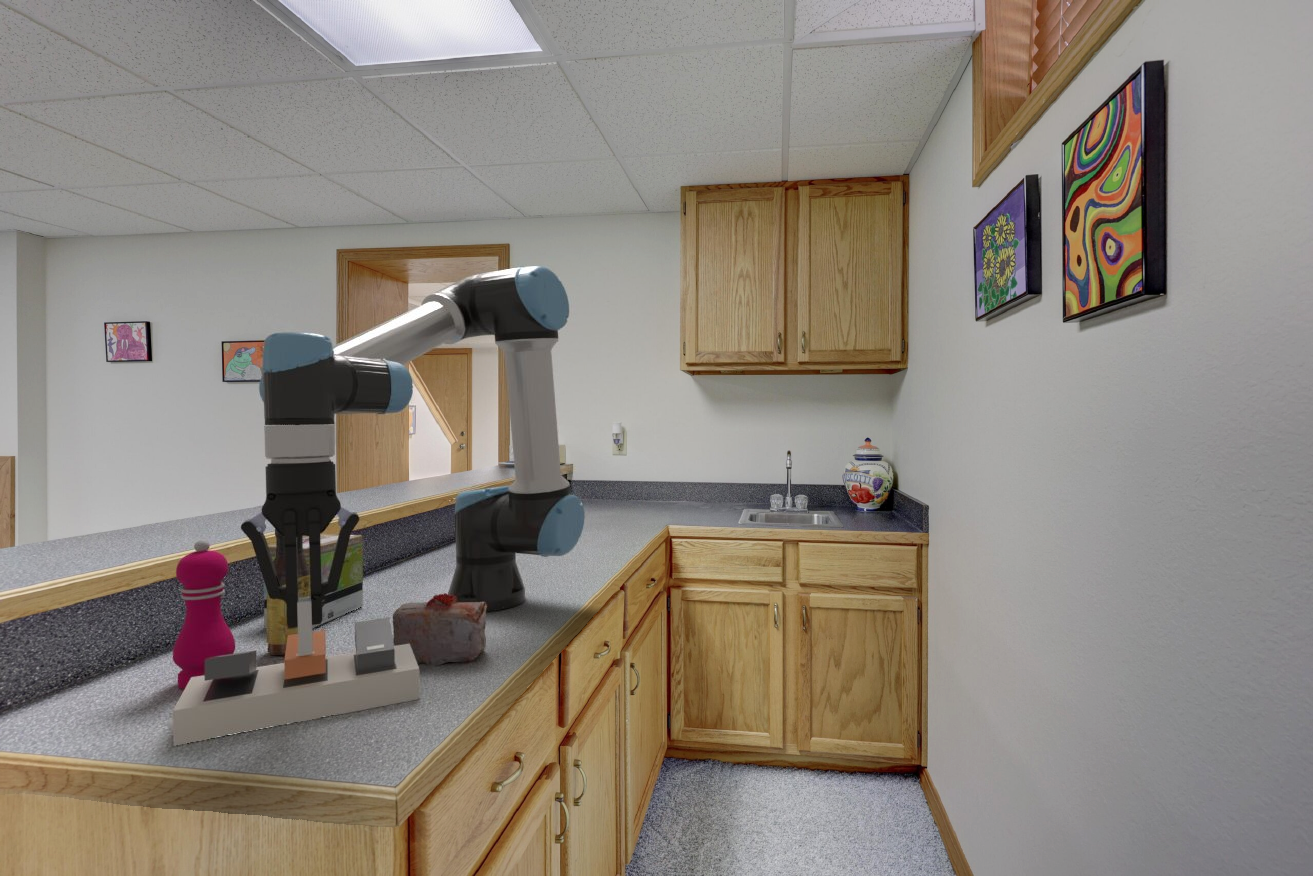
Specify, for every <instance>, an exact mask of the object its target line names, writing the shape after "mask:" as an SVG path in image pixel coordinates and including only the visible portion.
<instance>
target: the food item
mask: <svg viewBox="0 0 1313 876" xmlns="http://www.w3.org/2000/svg"><path fill="white" fill-rule="evenodd" d="M456 598H457V597H456V596H454V595H450V596H449V595H448V593H441V594H435V595H433V597H432V598H431V599H429V601H422V602H405V603H403V604H402V605H401V606H400V607H397V608H396V609H395V610H394V612H393V615H392V627H393V630H392V631H393V633H392V635H393V642H394V646H397V645H404V644H410V646H411V648H412V651H413V654H414V656H415V659H416V661H417V664H427V665H429V666H430V667H431V666H433V667H436V666H440V665H443V664H445V663H466V662H472V661H474V660H475V658H476V659H477V658H478V656H479V654H480V653H482V652H485V649H486V645H487V638H486V632H485V631H486V626H487V624H486V618H487V615H486V613H487V611H486V608H487V605H486V602H458V603H457V602H456V600H457V599H456Z"/></svg>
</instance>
